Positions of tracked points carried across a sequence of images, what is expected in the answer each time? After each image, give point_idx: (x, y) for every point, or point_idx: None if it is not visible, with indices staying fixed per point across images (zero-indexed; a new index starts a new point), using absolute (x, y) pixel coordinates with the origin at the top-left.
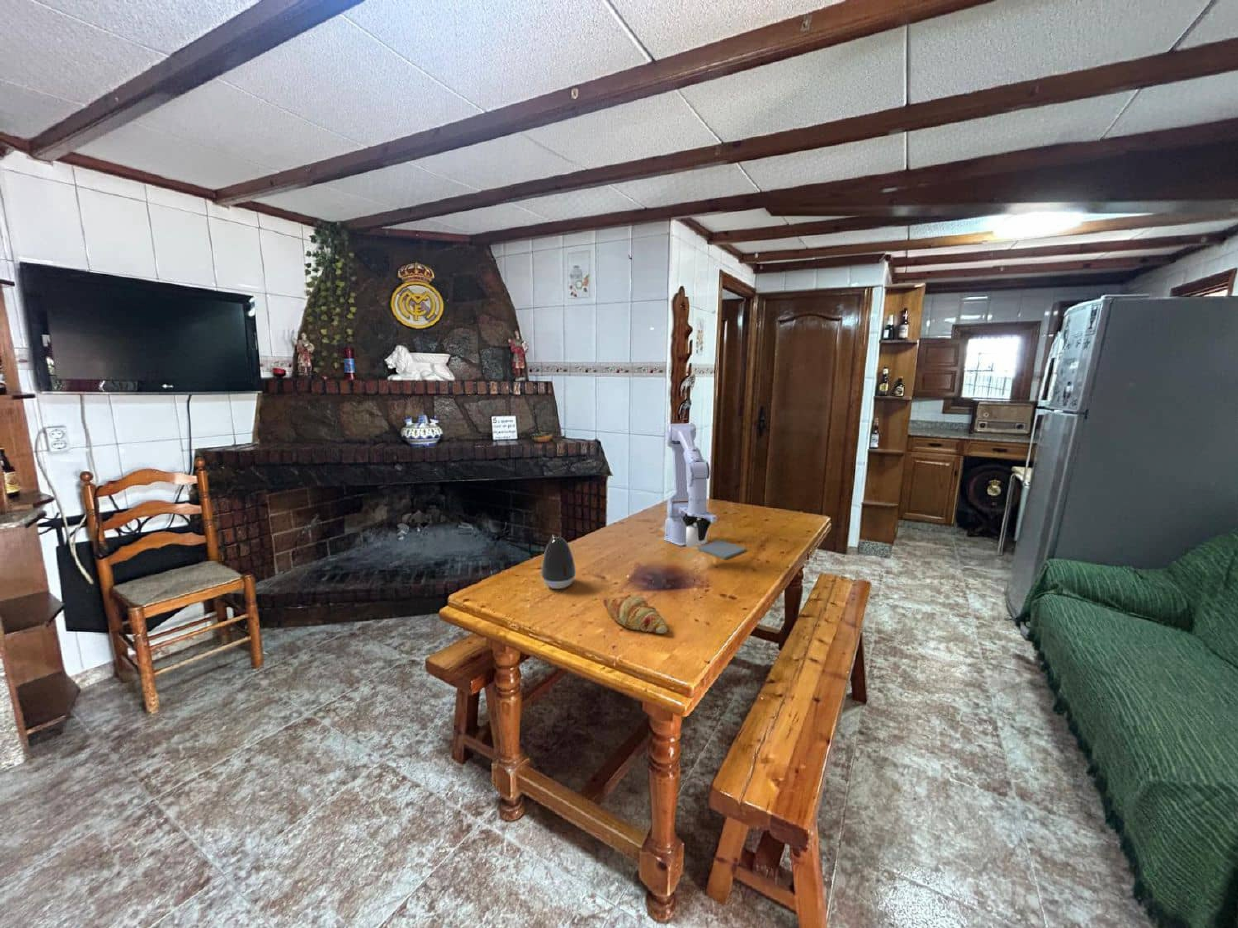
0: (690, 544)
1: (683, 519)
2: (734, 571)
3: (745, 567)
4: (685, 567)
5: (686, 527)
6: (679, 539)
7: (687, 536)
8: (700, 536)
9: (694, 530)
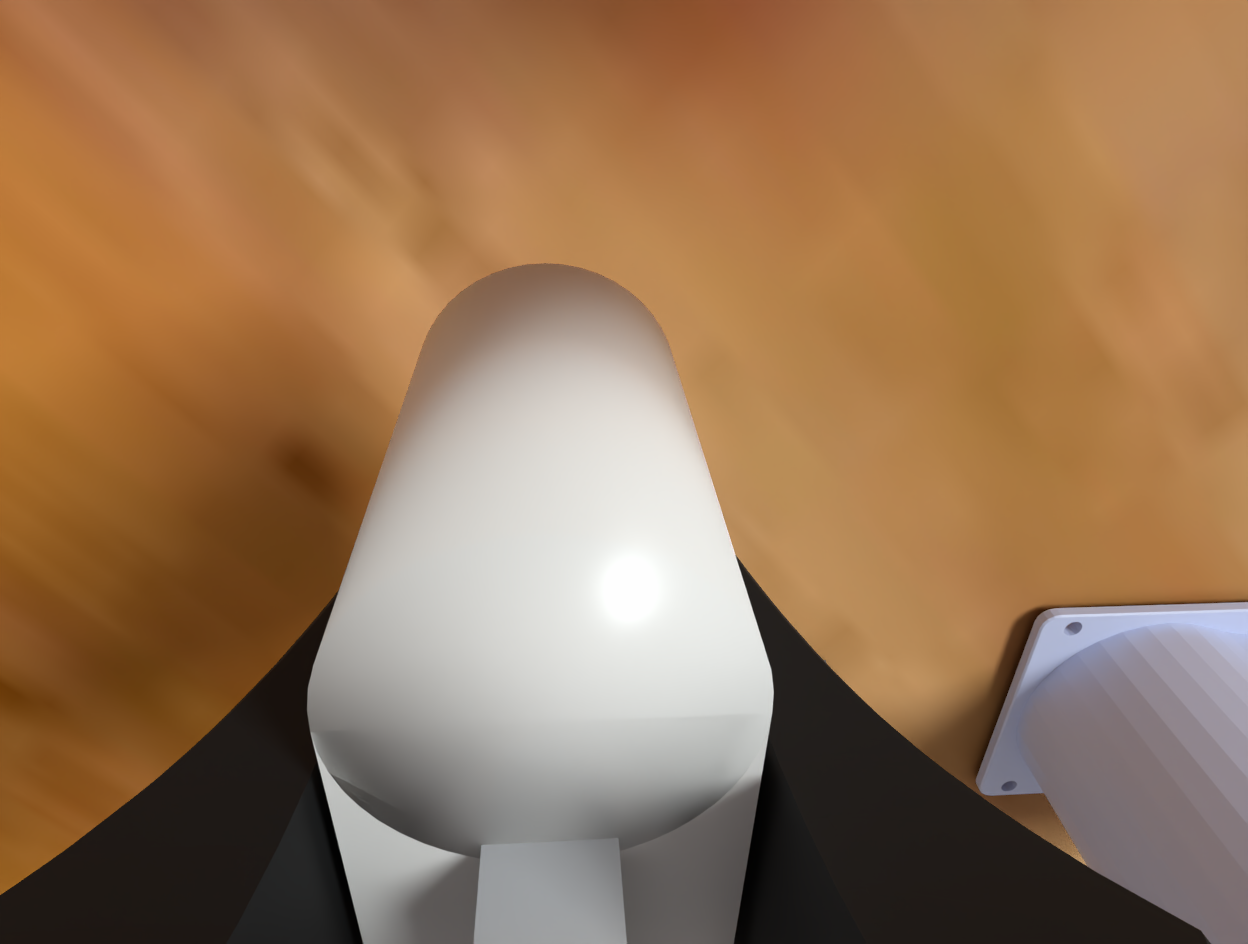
0: (468, 305)
1: (1128, 926)
2: (63, 521)
3: (108, 675)
4: (568, 131)
5: (711, 596)
6: (1125, 674)
7: (564, 371)
8: (312, 624)
9: (328, 632)
